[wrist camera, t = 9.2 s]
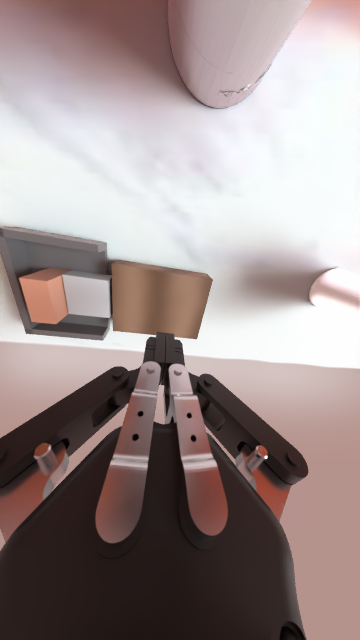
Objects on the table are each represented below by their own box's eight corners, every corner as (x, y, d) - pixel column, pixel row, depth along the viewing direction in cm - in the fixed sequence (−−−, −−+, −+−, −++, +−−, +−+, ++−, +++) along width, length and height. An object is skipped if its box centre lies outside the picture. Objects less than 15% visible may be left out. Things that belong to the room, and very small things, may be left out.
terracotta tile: (46, 281, 16) (18, 277, 16) (56, 324, 19) (31, 321, 18) (71, 270, 21) (50, 267, 20) (76, 306, 23) (57, 304, 23)
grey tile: (114, 275, 22) (108, 280, 19) (114, 310, 24) (109, 318, 22) (73, 269, 21) (62, 274, 19) (77, 305, 23) (68, 313, 21)
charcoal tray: (106, 242, 20) (97, 244, 18) (109, 329, 26) (103, 340, 23) (16, 227, 19) (-8, 226, 16) (41, 322, 25) (26, 333, 22)
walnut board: (207, 274, 23) (212, 279, 20) (193, 328, 27) (196, 339, 24) (118, 259, 21) (111, 263, 19) (118, 320, 25) (113, 330, 23)
